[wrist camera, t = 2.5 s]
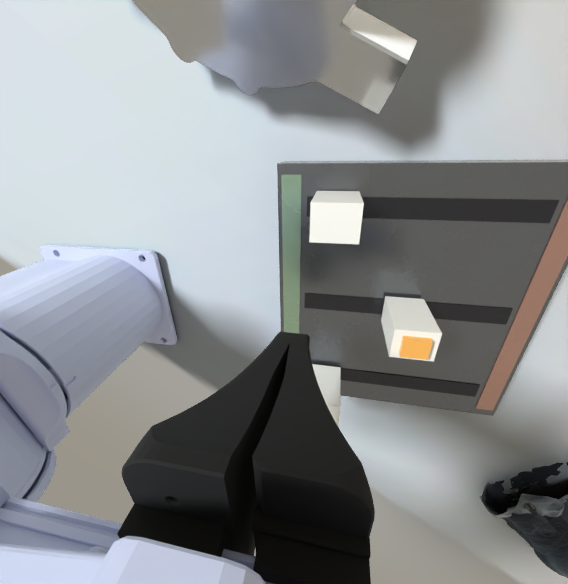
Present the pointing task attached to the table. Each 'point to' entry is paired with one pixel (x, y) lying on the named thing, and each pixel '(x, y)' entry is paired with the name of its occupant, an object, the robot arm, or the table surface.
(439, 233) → the grey slider switch panel
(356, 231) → the block
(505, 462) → the table surface
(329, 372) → the block
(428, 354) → the block
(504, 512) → the electronic device
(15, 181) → the table surface
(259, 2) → the tabbed white plastic disc
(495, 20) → the table surface
